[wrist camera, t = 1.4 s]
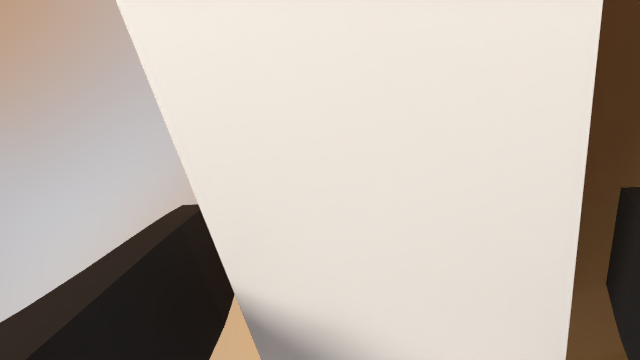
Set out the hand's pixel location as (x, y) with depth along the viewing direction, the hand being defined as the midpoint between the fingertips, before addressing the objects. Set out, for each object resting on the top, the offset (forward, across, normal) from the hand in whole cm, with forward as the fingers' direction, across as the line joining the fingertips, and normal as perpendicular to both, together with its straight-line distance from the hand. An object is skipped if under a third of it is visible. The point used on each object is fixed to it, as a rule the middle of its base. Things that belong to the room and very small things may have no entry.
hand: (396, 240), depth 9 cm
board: (+1, 0, 0) cm, 1 cm away
